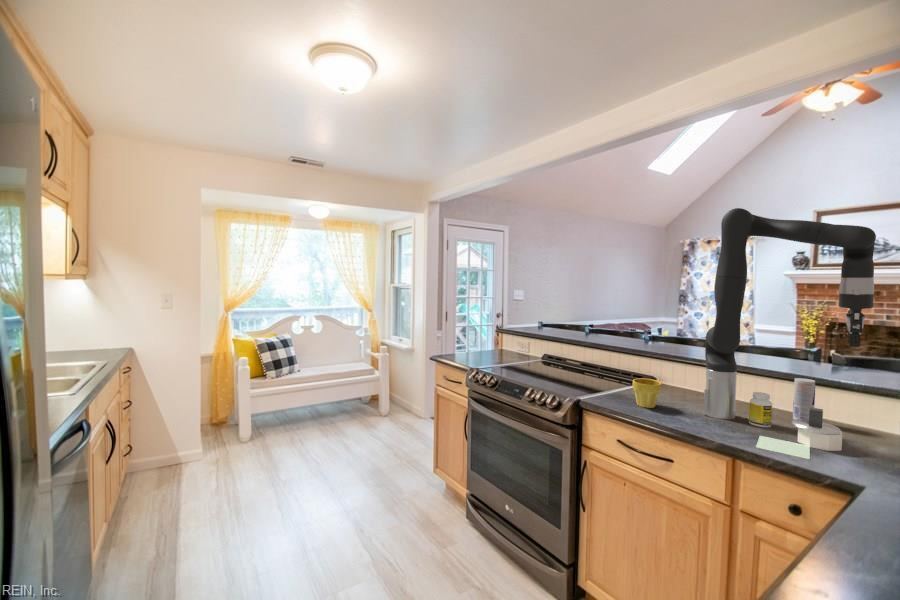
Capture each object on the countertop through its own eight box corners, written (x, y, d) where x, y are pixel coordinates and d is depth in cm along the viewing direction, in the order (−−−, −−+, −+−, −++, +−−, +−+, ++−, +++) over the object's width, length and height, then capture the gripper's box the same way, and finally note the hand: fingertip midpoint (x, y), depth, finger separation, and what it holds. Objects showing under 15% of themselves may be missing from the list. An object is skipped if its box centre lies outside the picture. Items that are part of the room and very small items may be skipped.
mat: (755, 448, 120) (755, 447, 120) (759, 436, 129) (759, 435, 129) (809, 460, 112) (809, 459, 112) (809, 447, 121) (810, 445, 121)
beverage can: (817, 424, 140) (819, 381, 139) (799, 423, 141) (800, 381, 140) (806, 419, 145) (808, 378, 144) (789, 418, 146) (790, 377, 146)
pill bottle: (765, 429, 135) (766, 397, 135) (745, 423, 141) (746, 392, 140) (775, 426, 138) (776, 394, 137) (754, 420, 143) (755, 390, 143)
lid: (790, 428, 123) (791, 409, 122) (792, 419, 131) (793, 401, 130) (841, 438, 115) (842, 418, 115) (839, 427, 123) (840, 408, 123)
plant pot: (664, 410, 155) (665, 385, 155) (636, 408, 157) (636, 384, 156) (655, 402, 165) (656, 378, 165) (629, 401, 167) (629, 377, 167)
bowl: (797, 445, 122) (797, 429, 122) (798, 436, 129) (798, 420, 129) (842, 454, 116) (842, 437, 115) (840, 444, 123) (841, 428, 123)
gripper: (838, 291, 131) (836, 341, 132) (840, 293, 121) (837, 346, 122) (871, 292, 126) (868, 343, 127) (876, 293, 116) (873, 349, 117)
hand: (853, 344), depth 124 cm, fingers open, 8 cm apart
